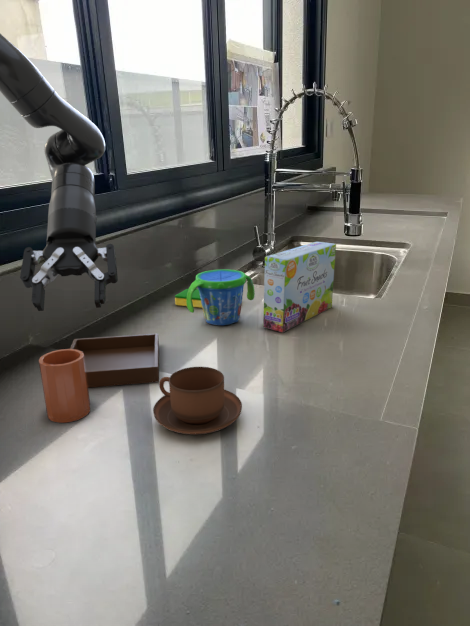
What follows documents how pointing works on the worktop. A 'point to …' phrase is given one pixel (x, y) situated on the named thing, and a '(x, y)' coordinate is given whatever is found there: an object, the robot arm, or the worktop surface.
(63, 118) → the robot arm
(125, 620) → the worktop surface
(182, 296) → the dish sponge
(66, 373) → the tumbler
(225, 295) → the snack cup
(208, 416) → the cup and saucer
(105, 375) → the tray
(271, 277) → the snack box
